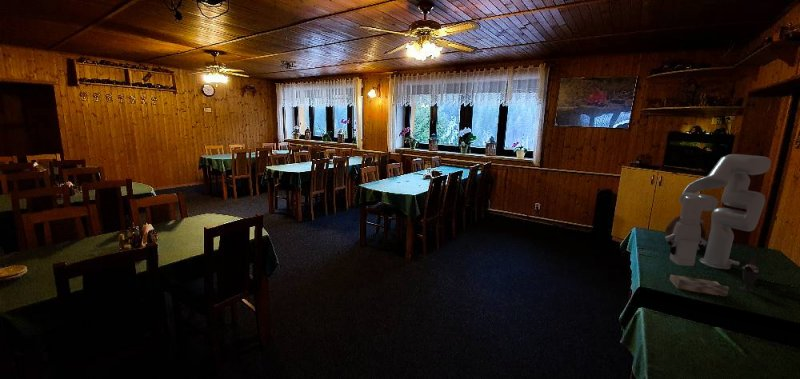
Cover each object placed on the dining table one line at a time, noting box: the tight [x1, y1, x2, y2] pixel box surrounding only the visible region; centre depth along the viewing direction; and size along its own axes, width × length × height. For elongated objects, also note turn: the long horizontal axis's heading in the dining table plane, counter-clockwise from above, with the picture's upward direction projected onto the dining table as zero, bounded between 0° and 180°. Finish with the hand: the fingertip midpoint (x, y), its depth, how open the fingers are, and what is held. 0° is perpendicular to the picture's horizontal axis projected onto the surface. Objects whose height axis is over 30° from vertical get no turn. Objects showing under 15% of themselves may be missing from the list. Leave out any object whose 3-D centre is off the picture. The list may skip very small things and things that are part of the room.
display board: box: [669, 274, 730, 297], centre depth 158 cm, size 18×10×4 cm, turn 69°
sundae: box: [738, 258, 762, 293], centre depth 156 cm, size 7×7×15 cm
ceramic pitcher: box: [664, 215, 707, 244], centre depth 212 cm, size 20×20×30 cm
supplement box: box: [669, 238, 699, 267], centre depth 168 cm, size 7×7×13 cm
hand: (682, 254), depth 168 cm, fingers closed on supplement box, 8 cm apart
